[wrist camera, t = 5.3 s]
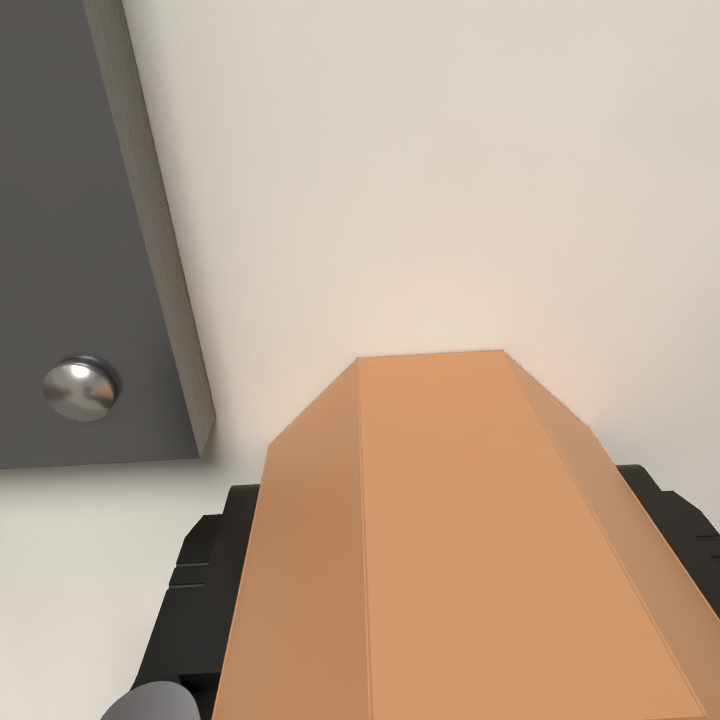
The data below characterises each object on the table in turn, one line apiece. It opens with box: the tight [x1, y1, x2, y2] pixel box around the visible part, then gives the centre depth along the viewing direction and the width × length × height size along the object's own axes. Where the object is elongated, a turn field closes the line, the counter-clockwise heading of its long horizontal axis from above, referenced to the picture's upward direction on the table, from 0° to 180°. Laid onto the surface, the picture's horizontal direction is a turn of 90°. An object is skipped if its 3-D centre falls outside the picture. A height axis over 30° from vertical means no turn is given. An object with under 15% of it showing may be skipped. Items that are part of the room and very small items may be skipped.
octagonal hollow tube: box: [212, 350, 720, 720], centre depth 8 cm, size 6×6×7 cm
